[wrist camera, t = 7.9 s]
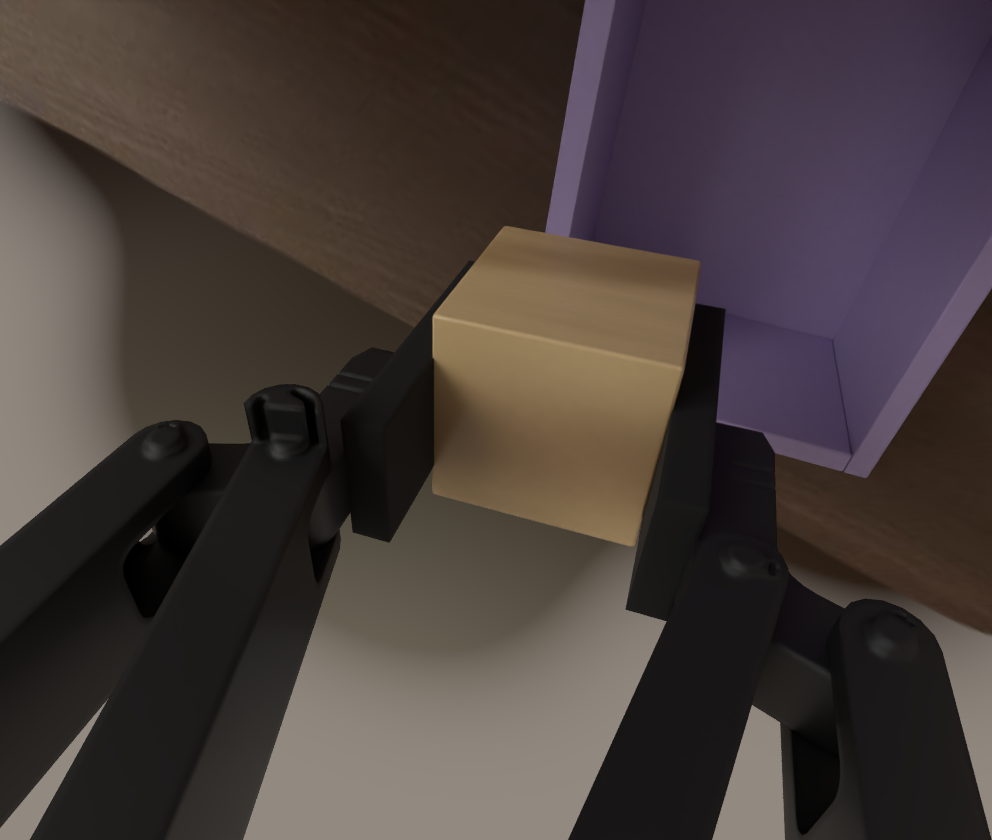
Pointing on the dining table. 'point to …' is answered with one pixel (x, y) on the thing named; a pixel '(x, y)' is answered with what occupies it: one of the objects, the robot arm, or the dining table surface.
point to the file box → (796, 192)
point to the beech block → (560, 379)
